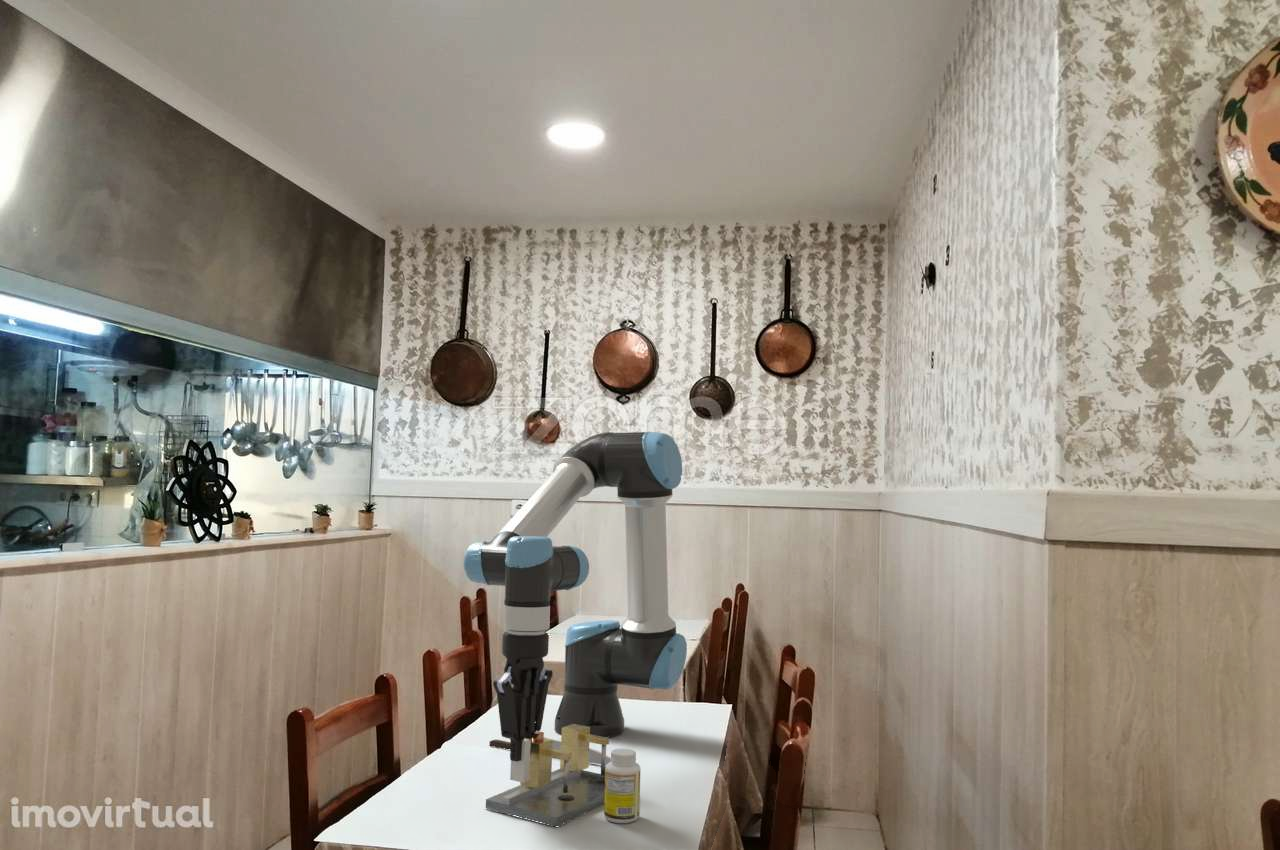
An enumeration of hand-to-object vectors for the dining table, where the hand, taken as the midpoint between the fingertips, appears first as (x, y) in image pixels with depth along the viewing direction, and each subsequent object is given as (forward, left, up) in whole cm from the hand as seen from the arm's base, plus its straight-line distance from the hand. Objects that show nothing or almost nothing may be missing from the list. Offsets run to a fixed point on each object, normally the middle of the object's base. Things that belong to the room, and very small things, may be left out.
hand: (519, 779), depth 143 cm
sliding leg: (-4, +2, -2) cm, 5 cm away
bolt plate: (-8, +3, -4) cm, 9 cm away
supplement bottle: (-6, +16, -5) cm, 18 cm away
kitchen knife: (-27, -12, -5) cm, 30 cm away
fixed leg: (-16, +2, -2) cm, 16 cm away
